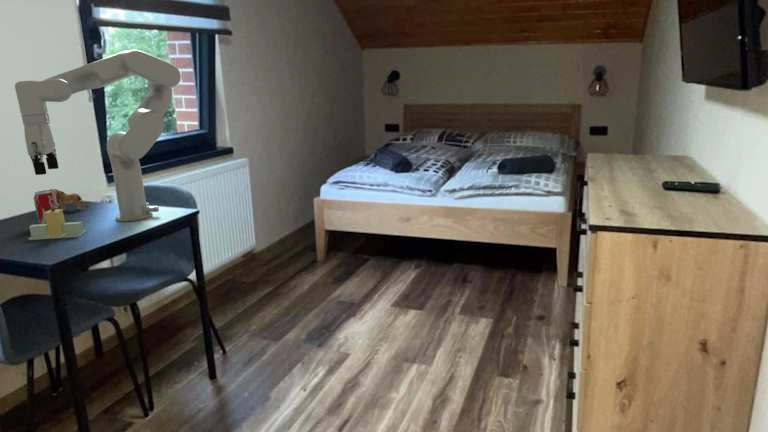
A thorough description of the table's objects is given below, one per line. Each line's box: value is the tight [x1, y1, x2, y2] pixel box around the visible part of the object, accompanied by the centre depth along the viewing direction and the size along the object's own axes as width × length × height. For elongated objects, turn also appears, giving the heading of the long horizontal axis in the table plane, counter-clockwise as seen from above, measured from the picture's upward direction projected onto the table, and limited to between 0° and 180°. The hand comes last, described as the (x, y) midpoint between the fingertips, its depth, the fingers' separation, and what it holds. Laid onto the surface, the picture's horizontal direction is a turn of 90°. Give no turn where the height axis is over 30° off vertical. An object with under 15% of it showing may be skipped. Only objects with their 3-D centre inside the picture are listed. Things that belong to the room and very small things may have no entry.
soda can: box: [33, 189, 60, 224], centre depth 203 cm, size 7×7×12 cm
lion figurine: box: [49, 188, 90, 211], centre depth 223 cm, size 15×5×9 cm, turn 96°
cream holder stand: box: [28, 221, 87, 241], centre depth 189 cm, size 16×6×4 cm, turn 96°
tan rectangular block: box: [44, 206, 66, 236], centre depth 188 cm, size 4×4×10 cm
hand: (47, 171), depth 187 cm, fingers open, 9 cm apart
